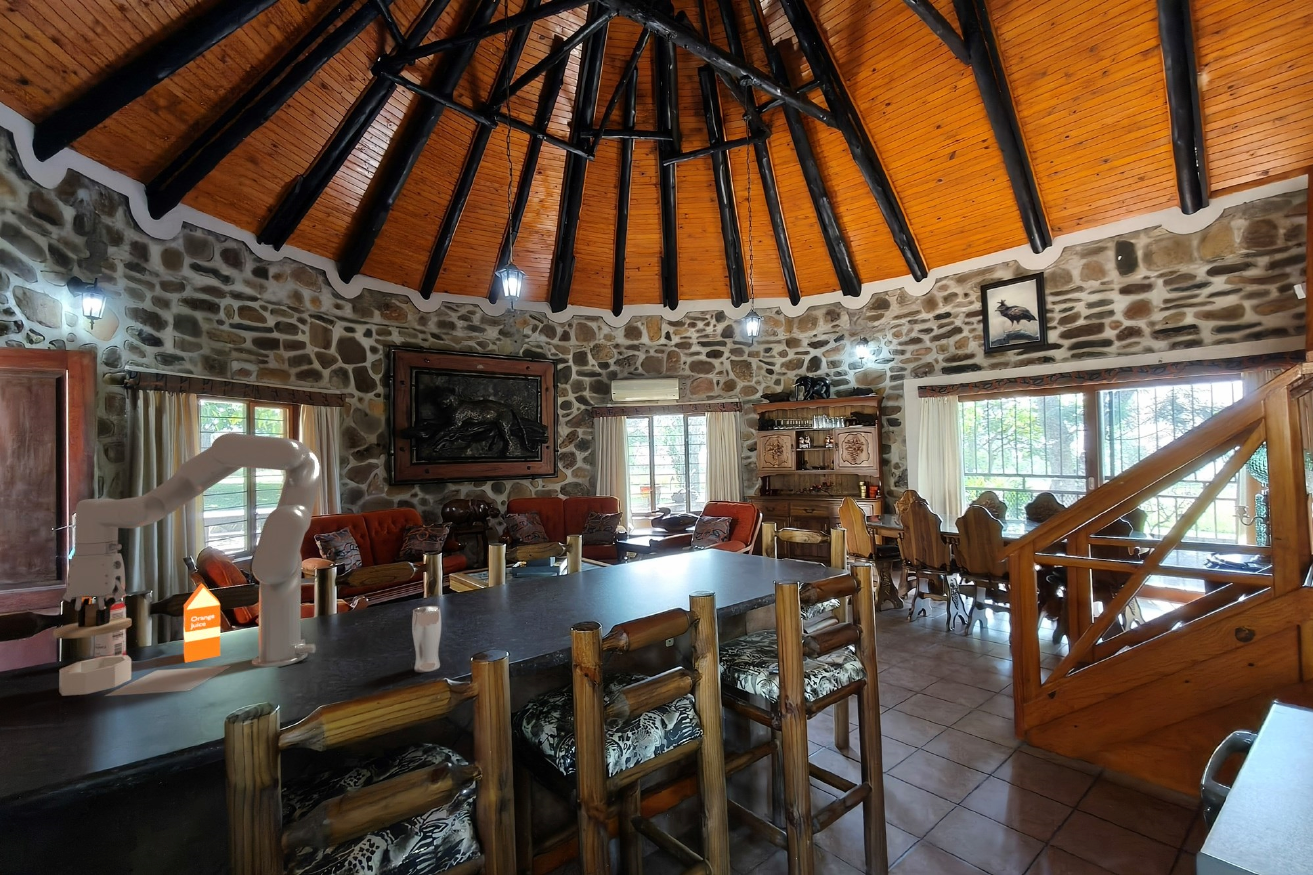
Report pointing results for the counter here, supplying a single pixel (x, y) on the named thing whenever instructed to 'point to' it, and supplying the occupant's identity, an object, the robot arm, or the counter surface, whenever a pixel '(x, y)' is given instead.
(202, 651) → the orange juice
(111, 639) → the beer can
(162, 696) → the counter surface
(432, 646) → the beer glass
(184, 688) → the mat
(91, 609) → the lid
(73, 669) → the bowl
